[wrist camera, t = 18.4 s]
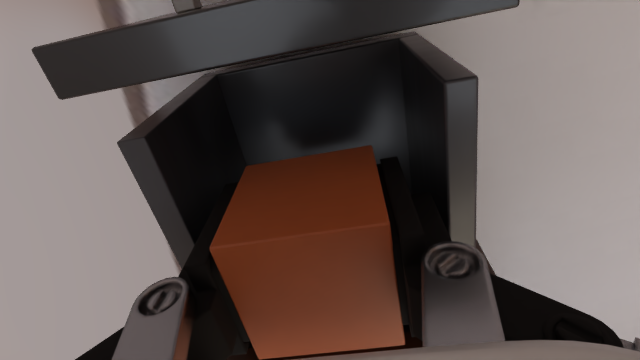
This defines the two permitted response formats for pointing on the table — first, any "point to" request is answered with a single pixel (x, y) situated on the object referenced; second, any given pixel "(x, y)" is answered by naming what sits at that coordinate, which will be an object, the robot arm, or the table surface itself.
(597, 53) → the table surface
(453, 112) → the drawer
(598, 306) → the table surface
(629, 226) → the table surface
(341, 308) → the block
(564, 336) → the robot arm
